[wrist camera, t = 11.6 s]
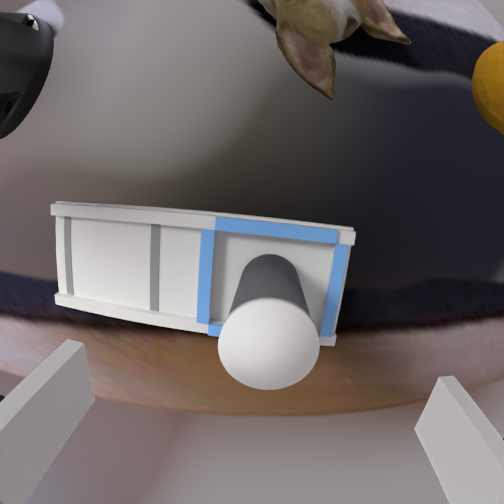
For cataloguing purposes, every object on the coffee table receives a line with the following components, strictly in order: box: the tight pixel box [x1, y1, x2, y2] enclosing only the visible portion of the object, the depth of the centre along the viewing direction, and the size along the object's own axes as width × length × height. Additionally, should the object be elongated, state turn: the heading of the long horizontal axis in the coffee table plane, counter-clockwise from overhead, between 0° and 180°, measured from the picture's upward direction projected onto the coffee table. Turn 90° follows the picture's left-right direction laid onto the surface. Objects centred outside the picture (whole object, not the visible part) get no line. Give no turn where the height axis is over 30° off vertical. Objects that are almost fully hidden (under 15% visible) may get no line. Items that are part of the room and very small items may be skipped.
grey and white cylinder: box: [218, 254, 320, 390], centre depth 20 cm, size 5×5×11 cm
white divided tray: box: [51, 201, 356, 346], centre depth 25 cm, size 10×26×2 cm, turn 84°
